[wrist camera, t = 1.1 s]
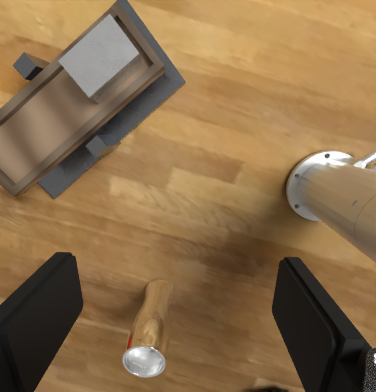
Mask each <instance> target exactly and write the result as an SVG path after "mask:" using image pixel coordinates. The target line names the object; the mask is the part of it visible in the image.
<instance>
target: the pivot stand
mask: <svg viewBox="0 0 376 392" xmlns="http://www.w3.org/2000/svg"><path fill="white" fill-rule="evenodd" d="M117 1H118V3H119V4H120V5H121V7H122V8H123V9H124V11H125V12H126V14H127V15H128V16H129V18H130V19H131V20H132V22H133V23H134V25H135V26H136V27H137V29H138V30H139V31H140V33H141V34H142V35H143V37H144V38H145V40H146V41H147V42H148V44H149V45H150V46H151V48H152V49H153V51H154V52H155V53H156V55H157V56H158V57H159V59H160V60H161V61H162V63H163V64H164V66H165V72H164V73H163V74H162V75H161V76H159V77H158V78H157V79H156V80H155V81H154V82H153V83H151V84H150V85H149V86H148V87H147V88H146V89H144V90H143V91H142V92H141V93H140V94H139V95H137V96H136V97H135V98H134V99H133V100H132V101H130V102H129V103H128V104H127V105H126V106H125V107H124V108H122V109H121V110H120V111H119V112H118V113H117V114H115V115H114V116H113V117H112V118H111V119H110V120H108V121H107V122H106V123H105V124H104V125H103V126H102V127H100V128H99V129H98V130H97V131H96V132H95V133H93V134H92V135H91V136H90V137H89V138H88V139H86V140H85V141H84V142H83V143H82V144H81V145H80V146H78V147H77V148H76V149H75V150H74V151H73V152H71V153H70V154H69V155H68V156H67V157H66V158H64V159H63V160H62V161H61V162H60V163H59V164H57V165H56V166H55V167H54V168H53V169H52V170H51V171H49V172H48V173H47V174H46V175H45V176H44V177H42V178H41V179H40V180H39V181H38V183H39V184H40V185H41V186H42V187H43V188H44V189H45V190H46V191H47V192H48V193H49V194H50V195H51V196H52V197H53V198H54V199H55V198H57V197H58V196H59V195H60V194H61V193H63V192H64V191H65V190H66V189H67V188H68V187H69V186H70V185H71V184H73V183H74V182H75V181H76V180H77V179H78V178H79V177H80V176H82V175H83V174H84V173H85V172H86V171H87V170H88V169H89V168H91V167H92V166H93V165H94V164H95V163H96V162H97V161H98V160H100V159H101V158H102V157H103V156H104V155H105V154H107V153H110V152H112V151H113V150H114V149H115V148H116V147H117V146H118V145H120V144H121V143H120V141H121V140H122V139H123V138H124V137H125V136H126V135H128V134H129V133H130V132H131V131H132V130H133V129H134V128H135V127H137V126H138V125H139V124H140V123H141V122H142V121H143V120H144V119H145V118H147V117H148V116H149V115H150V114H151V113H152V112H153V111H154V110H156V109H157V108H158V107H159V106H160V105H161V104H162V103H163V102H165V101H166V100H167V99H168V98H169V97H170V96H171V95H172V94H174V93H175V92H176V91H177V90H178V89H179V88H180V87H181V86H183V85H184V84H185V83H186V82H185V80H184V79H183V77H182V76H181V75H180V73H179V72H178V70H177V69H176V68H175V66H174V65H173V64H172V62H171V61H170V59H169V58H168V57H167V55H166V54H165V52H164V51H163V50H162V48H161V47H160V45H159V44H158V43H157V41H156V40H155V39H154V37H153V36H152V34H151V33H150V32H149V30H148V29H147V27H146V26H145V25H144V23H143V22H142V20H141V19H140V18H139V16H138V15H137V14H136V12H135V11H134V9H133V8H132V7H131V5H130V4H129V2H128V1H127V0H117ZM117 1H116V2H117ZM116 2H115V3H116ZM115 3H114V4H115ZM114 4H113V5H114ZM113 5H112V6H113ZM49 64H50V63H49V62H46V61H44V60H42V59H39V58H37V57H35V56H32V55H30V54H28V53H25V52H24V53H23V54H22V55H21V56H20V57H19V59H18V60H17V61H16V62H15V63H14V65H13V66H14V68H15V69H16V70H17V71H18V72H19V73H20V74H21V75H22V76H23V78H24V79H27V80H32V79H33V78H35V77H36V76H37V75H38V74H39V73H40V72H41V71H42V70H43V69H44V68H45V67H47V66H48V65H49Z"/></svg>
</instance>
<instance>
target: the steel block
mask: <svg viewBox="0 0 376 392" xmlns="http://www.w3.org/2000/svg"><path fill="white" fill-rule="evenodd" d="M58 62H59V63H60V64H61V65H62V66H63V67H64V69H65V70H66V71H67V72H68V73H69V75H70V76H71V77H72V78H73V79H74V80H75V82H76V83H77V84H78V85H79V86H80V88H81V89H82V90H83V91H84V92H85V93H86V95H87V96H88V97H89V98H91V99H92V100H94V101H96V102H97V103H99V104H100V103H101V102H102V101H103V100H104V99H106V98H107V97H108V96H109V95H110V94H111V93H112V92H114V91H115V90H116V89H117V88H118V87H119V86H120V85H122V84H123V83H124V82H125V81H126V80H127V79H128V78H130V77H131V76H132V75H133V74H134V73H135V72H136V71H138V70H139V69H140V68H141V67H142V66H143V62H142V60H141V57H140V54H139V52H138V51H137V49H136V48H135V47H134V45H133V44H132V43H131V41H130V40H129V39H128V37H127V36H126V35H125V33H124V32H123V31H122V29H121V28H120V27H119V25H118V24H117V23H116V21H115V20H114V19H113V17H112V16H111V15H110V14H109V15H108V16H107V17H106V18H104V19H103V20H102V21H101V22H100V23H99V24H98V25H97V26H96V27H95V28H94V29H92V30H91V31H90V32H89V33H88V34H87V35H86V36H85V37H84V38H83V39H81V40H80V41H79V42H78V43H77V44H76V45H75V46H74V47H73V48H72V49H71V50H69V51H68V52H67V53H66V54H65V55H64V56H63V57H62V58H61V59H60V60H59V61H58Z"/></svg>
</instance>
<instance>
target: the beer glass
mask: <svg viewBox="0 0 376 392" xmlns="http://www.w3.org/2000/svg"><path fill="white" fill-rule="evenodd" d="M173 295H174V289H173V287H172V285H171V284H170V283H169V282H167V281H165V280H161V279H157V280H153V281H151V282H149V283H148V285H147V286H146V290H145V299H144V302H143V304H142V306H141V308H140V310H139V312H138V313H137V315H136V317H135V319H134V321H133V324H132V326H131V329H130V332H129V335H128V339H127V343H126V347H125V351H124V355H123V359H122V361H123V365H124V367H125V368H126V369H127V370H128V371H129V372H130V373H132V374H134V375H136V376H139V377H154V376H156V375H158V374H160V373H161V372H162V371H163V370H164V368H165V365H166V359H167V354H168V349H169V344H170V335H171V320H170V303H171V300H172V298H173Z"/></svg>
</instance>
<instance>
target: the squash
mask: <svg viewBox="0 0 376 392" xmlns="http://www.w3.org/2000/svg"><path fill="white" fill-rule="evenodd" d="M260 392H268V391H267V390H261V391H260ZM272 392H284V391H283V390H282V389H279V388H276V389H274V390H273V391H272Z"/></svg>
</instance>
